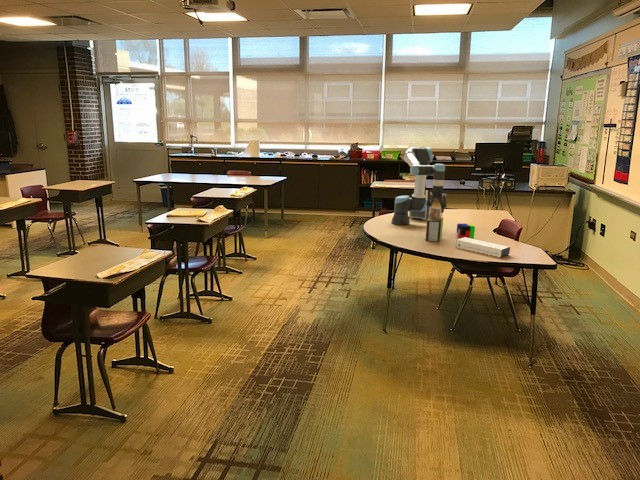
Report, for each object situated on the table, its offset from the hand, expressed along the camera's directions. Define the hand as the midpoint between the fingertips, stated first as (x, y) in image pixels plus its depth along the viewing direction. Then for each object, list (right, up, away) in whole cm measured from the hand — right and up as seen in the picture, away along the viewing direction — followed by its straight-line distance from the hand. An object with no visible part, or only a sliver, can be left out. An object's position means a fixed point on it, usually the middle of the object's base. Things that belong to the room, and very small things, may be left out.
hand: (435, 215), depth 368 cm
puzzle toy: (+25, -16, +11) cm, 32 cm away
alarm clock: (+4, +1, +77) cm, 77 cm away
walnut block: (0, -2, +1) cm, 2 cm away
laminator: (+25, -26, -26) cm, 45 cm away
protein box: (0, -17, +4) cm, 18 cm away
